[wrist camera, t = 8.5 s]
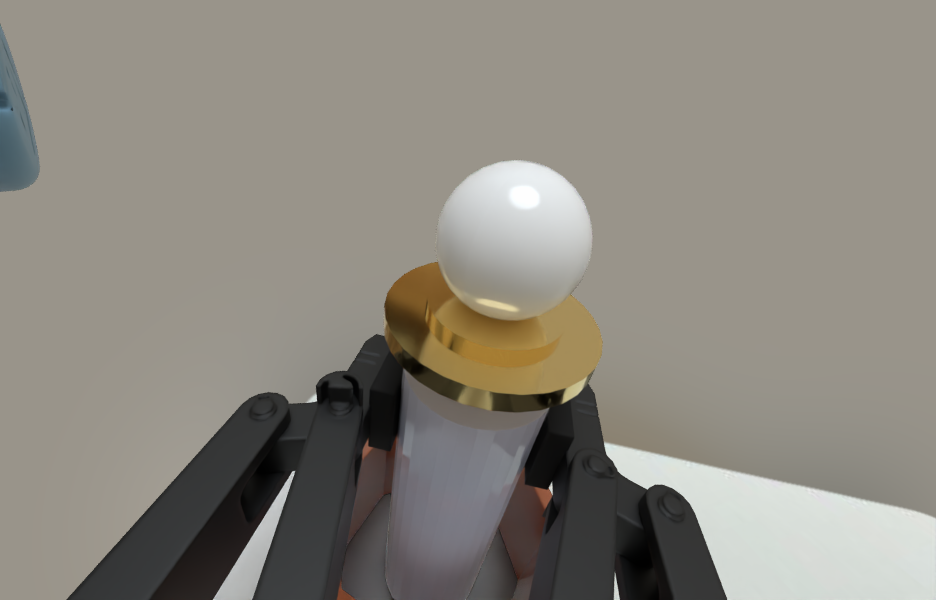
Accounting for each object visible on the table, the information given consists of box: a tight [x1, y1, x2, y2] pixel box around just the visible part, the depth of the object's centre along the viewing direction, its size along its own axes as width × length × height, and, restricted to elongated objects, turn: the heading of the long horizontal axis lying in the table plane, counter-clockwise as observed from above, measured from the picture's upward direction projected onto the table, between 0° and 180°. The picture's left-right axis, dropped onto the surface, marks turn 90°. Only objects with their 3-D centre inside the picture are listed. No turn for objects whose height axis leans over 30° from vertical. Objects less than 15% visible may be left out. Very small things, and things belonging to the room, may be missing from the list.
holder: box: [337, 435, 552, 600], centre depth 17 cm, size 10×10×6 cm
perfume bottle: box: [384, 160, 603, 600], centre depth 13 cm, size 6×6×20 cm
